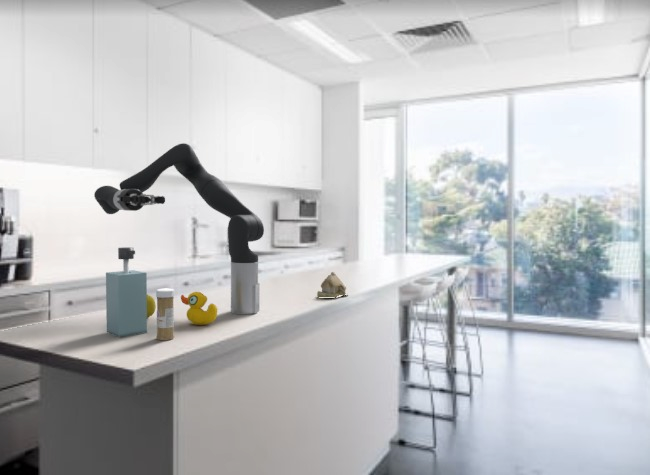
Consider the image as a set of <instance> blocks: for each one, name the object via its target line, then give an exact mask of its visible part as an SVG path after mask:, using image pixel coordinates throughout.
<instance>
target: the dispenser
mask: <svg viewBox="0 0 650 475" xmlns="http://www.w3.org/2000/svg"><path fill="white" fill-rule="evenodd" d="M147 286H148V285H147V272H144V271H140V270H135V269H132V270H129V273H124V270H121V271H119V270H118V271H109V272H105V288H106V289H105V296H106V297H105V299H106V301H105V302H106V303H105V304H106V305H105V306H106V307H105V309H106V316H105V318H106V333H108V334H110V335H112V336H115V337H117V338H124V337H130V336H134V335H136V336H137V335H140V334H145V333H146V334H147V333H148V319H147V294H148V293H147V291H148V290H147Z"/></svg>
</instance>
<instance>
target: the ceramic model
mask: <svg viewBox="0 0 650 475" xmlns="http://www.w3.org/2000/svg"><path fill="white" fill-rule="evenodd" d="M320 287H321V288H320V289H321V291H320V290H318V291H317V293H316V294H317V298H318V297H337V296H339V295H345V294H347V293H346V290H347V286H345V284H344V282H343V281H342V280H341V278H339V277H338V275H337V273H335V272H334V271H332V272H330V274H329V275H327V276H326V278H325V279H324V280H323V281H322V282H321V284H320Z"/></svg>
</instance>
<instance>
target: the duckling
mask: <svg viewBox="0 0 650 475" xmlns="http://www.w3.org/2000/svg"><path fill="white" fill-rule="evenodd" d="M180 300H181V302H182V303H183V304H184V305H186V306H187V305H188V306H189V308H188V310H187V311H186V318H187V319H188V321H189V322H190V323H191V324H192V325H196V326H199V325H200V326H204V325H208V324H211V323H213V322H214V321H216V319H217V316H218V308H217V306H216V304H214V303H210V304H209V305H208V307H207V309H206V310H204V309H203V307H204V306H205V305H206V303H207V302H208V297H207V296H206V295H205V294H204V293H202V292H200V291H193V292H191V293H189V295H188V296H187V297H186V296H184V294H181V296H180Z"/></svg>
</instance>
